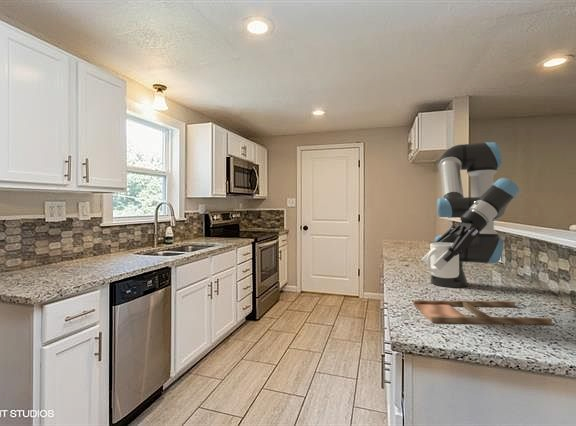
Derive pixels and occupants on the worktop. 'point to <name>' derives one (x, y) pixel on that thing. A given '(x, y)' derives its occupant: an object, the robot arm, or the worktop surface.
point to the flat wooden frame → (448, 314)
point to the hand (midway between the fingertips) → (430, 264)
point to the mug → (450, 268)
